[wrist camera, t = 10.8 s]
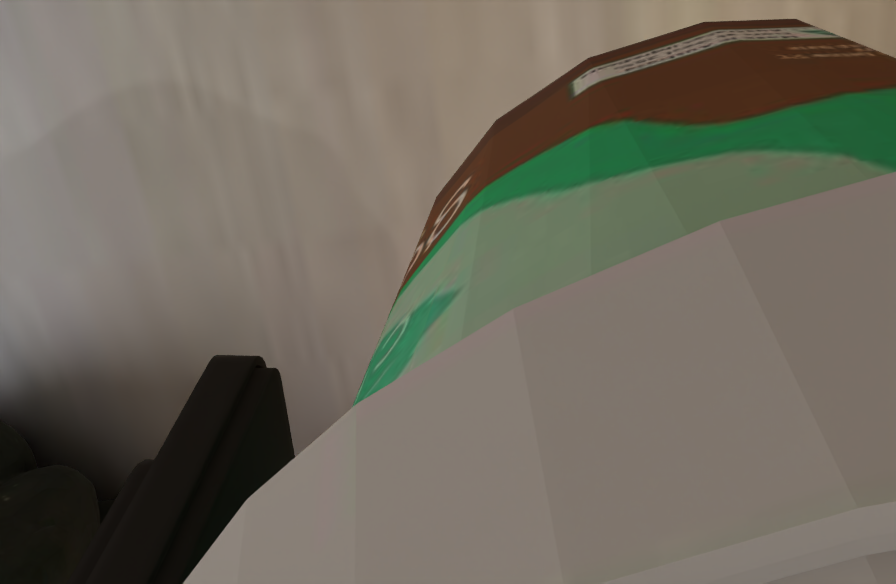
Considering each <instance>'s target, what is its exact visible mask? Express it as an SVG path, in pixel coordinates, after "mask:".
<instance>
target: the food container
mask: <svg viewBox="0 0 896 584" xmlns="http://www.w3.org/2000/svg"><path fill="white" fill-rule="evenodd" d="M183 584H896V58H894V57H891V56H889V55H886V54H884V53H881V52H879V51H876V50H874V49H871V48H869V47H866V46H863V45H861V44H858V43H856V42H853V41H851V40H848V39H846V38H843V37H840V36H838V35H835V34H833V33H830V32H828V31H825V30H823V29H820V28H818V27H815V26H812V25H810V24H807V23H805V22H802V21H800V20H797V19H777V20H749V21H721V22H703V23H699V24H696V25H693V26H690V27H687V28H683V29H680V30H677V31H674V32H670V33H667V34H664V35H661V36H658V37H654V38H651V39H648V40H645V41H642V42H638V43H635V44H632V45H629V46H625V47H622V48H619V49H616V50H613V51H609V52H606V53H603V54H600V55H597V56H593V57H590V58H588V59H586V60H585V61H583V62H582V63H580V64H579V65H577V66H576V67H574V68H573V69H571V70H570V71H568V72H567V73H565V74H564V75H562V76H561V77H560V78H558V79H557V80H555V81H554V82H552V83H551V84H549V85H548V86H546V87H545V88H543V89H542V90H540V91H539V92H537V93H536V94H534V95H533V96H531V97H530V98H528V99H527V100H525V101H524V102H523V103H521V104H520V105H518V106H517V107H515V108H514V109H512V110H511V111H509V112H508V113H506V114H505V115H503V116H502V117H500V118H499V119H497V120H496V121H495V122H494V124H493V125H492V126H491V128H490V129H489V130H488V131H487V133H486V134H485V135H484V137H483V138H482V139H481V140H480V142H479V143H478V144H477V146H476V147H475V148H474V149H473V151H472V152H471V153H470V155H469V156H468V157H467V158H466V160H465V161H464V162H463V164H462V165H461V166H460V167H459V169H458V170H457V171H456V173H455V174H454V175H453V176H452V178H451V179H450V180H449V182H448V183H447V184H446V185H445V187H444V188H443V189H442V191H441V192H440V193H439V194H438V196H437V197H436V200H435V202H434V205H433V207H432V210H431V212H430V215H429V217H428V220H427V222H426V225H425V227H424V230H423V232H422V235H421V237H420V240H419V242H418V245H417V247H416V250H415V252H414V255H413V257H412V260H411V262H410V264H409V267H408V269H407V272H406V274H405V277H404V279H403V282H402V284H401V287H400V289H399V292H398V294H397V297H396V299H395V302H394V304H393V307H392V309H391V312H390V314H389V317H388V319H387V322H386V324H385V327H384V329H383V332H382V334H381V337H380V339H379V341H378V344H377V346H376V349H375V351H374V354H373V356H372V359H371V361H370V364H369V366H368V369H367V371H366V374H365V376H364V379H363V381H362V384H361V386H360V389H359V391H358V394H357V396H356V399H355V401H354V404H353V406H352V408H351V409H350V410H349V411H348V412H347V413H346V414H344V415H343V416H342V417H341V418H340V419H339V420H337V421H336V422H335V423H334V424H333V425H332V426H331V427H329V428H328V429H327V430H326V431H325V432H324V433H323V434H321V435H320V436H319V437H318V438H317V439H316V440H314V441H313V442H312V443H311V444H310V445H309V446H308V447H306V448H305V449H304V450H303V451H302V452H301V453H300V454H298V455H297V456H296V457H295V458H294V459H293V460H291V461H290V462H289V463H288V464H287V465H286V466H285V467H283V468H282V469H281V470H280V471H279V472H278V473H277V474H275V475H274V476H273V477H272V478H271V479H270V480H268V481H267V482H266V483H265V484H264V485H263V486H262V487H260V488H259V489H258V490H257V491H256V492H255V493H254V494H252V495H251V496H250V497H249V498H248V499H247V500H246V501H245V503H244V504H243V505H242V506H241V508H240V509H239V510H238V512H237V513H236V514H235V516H234V517H233V518H232V520H231V521H230V522H229V524H228V525H227V526H226V527H225V529H224V530H223V531H222V533H221V534H220V535H219V537H218V538H217V539H216V541H215V542H214V543H213V545H212V546H211V547H210V549H209V550H208V551H207V552H206V554H205V555H204V556H203V558H202V559H201V560H200V562H199V563H198V564H197V566H196V567H195V568H194V570H193V571H192V572H191V573H190V575H189V576H188V577H187V579H186V580H185V581H184V583H183Z"/></svg>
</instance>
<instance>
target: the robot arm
mask: <svg viewBox="0 0 896 584" xmlns="http://www.w3.org/2000/svg"><path fill="white" fill-rule="evenodd" d="M294 458H295V455H294V449H293V444H292V438H291V432H290V426H289V421H288V415H287V409H286V403H285V398H284V392H283V386H282V381H281V376H280V372H279V371H278V369H276V368H266V364H265V361H264V360H263V358H262V357H260V356H235V355H216V356H214V357H213V358H212V359H211V360H210V362H209V363H208V365H207V367H206V369H205V370H204V372H203V374H202V376H201V378H200V379H199V381H198V383H197V385H196V387H195V388H194V390H193V392H192V394H191V395H190V397H189V399H188V401H187V403H186V404H185V406H184V408H183V410H182V412H181V413H180V415H179V417H178V419H177V421H176V422H175V424H174V426H173V428H172V429H171V431H170V433H169V435H168V437H167V438H166V440H165V442H164V444H163V446H162V447H161V449H160V451H159V453H158V454H157V456H156V458H155V460H144V461H142V462H141V463H139V464H138V465H137V466H136V467H135V469H134V470H133V471H132V472H131V474H130V475H129V477H128V479H127V481H126V482H125V484H124V486H123V487H122V489H121V491H120V493H119V494H118V496H117V498H116V499H115V501H114V503H113V505H112V506H111V508H110V510H109V511H108V513H107V515H106V517H105V518H104V520H103V522H102V523H101V525H100V527H99V529H98V530H97V532H96V534H95V535H94V537H93V539H92V541H91V542H90V544H89V546H88V547H87V549H86V551H85V553H84V554H83V556H82V558H81V559H80V561H79V563H78V565H77V566H76V568H75V570H74V571H73V573H72V575H71V577H70V578H69V580H68V582H67V583H66V584H183V583H184V581H185V580H186V579H187V577H188V576H189V575H190V573H191V572H192V571H193V570H194V568H195V567H196V566H197V564H198V563H199V562H200V560H201V559H202V558H203V556H204V555H205V554H206V552H207V551H208V550H209V549H210V547H211V546H212V545H213V543H214V542H215V541H216V539H217V538H218V537H219V535H220V534H221V533H222V531H223V530H224V529H225V527H226V526H227V525H228V524H229V522H230V521H231V520H232V518H233V517H234V516H235V514H236V513H237V512H238V510H239V509H240V508H241V506H242V505H243V504H244V503H245V501H246V500H247V499H248V498H249V497H250V496H251V495H252V494H254V493H255V492H256V491H257V490H258V489H259V488H260V487H262V486H263V485H264V484H265V483H266V482H267V481H268V480H270V479H271V478H272V477H273V476H274V475H275V474H277V473H278V472H279V471H280V470H281V469H282V468H283V467H285V466H286V465H287V464H288V463H289V462H290V461H291V460H293V459H294Z"/></svg>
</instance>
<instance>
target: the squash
mask: <svg viewBox="0 0 896 584" xmlns="http://www.w3.org/2000/svg"><path fill="white" fill-rule="evenodd" d="M114 501H115V499H112V500H105V501H98V500H97V496H96V491H95V487H94V486H93V484H92V483H91V482H90V480H89V479H87V478H86V477H85V476H84V475H82V474H81V473H80V472H79V471H77V470H76V469H73V468H70V467H66V466H62V465H59V464H58V465H52V466H47V467H42V468H37V464H36V460H35V457H34V454H33V452H32V450H31V448H30V447H29V445H28V443H27V441H26V440H25V439H24V438H23V437H22V436H21V435H20V434H19V433H18V432H17V431H16V430H15V429H14V428H13V427H11V426H9V425H8V424H6V423H4V422H2V421H0V584H66V583H67V582H68V580H69V578H70V577H71V575H72V573H73V571H74V570H75V568H76V566H77V565H78V563H79V561H80V559H81V558H82V556H83V554H84V553H85V551H86V549H87V547H88V546H89V544H90V542H91V541H92V539H93V537H94V535H95V534H96V532H97V530H98V529H99V527H100V525H101V523H102V522H103V520H104V518H105V517H106V515H107V513H108V511H109V510H110V508H111V506H112V505H113V503H114Z"/></svg>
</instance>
